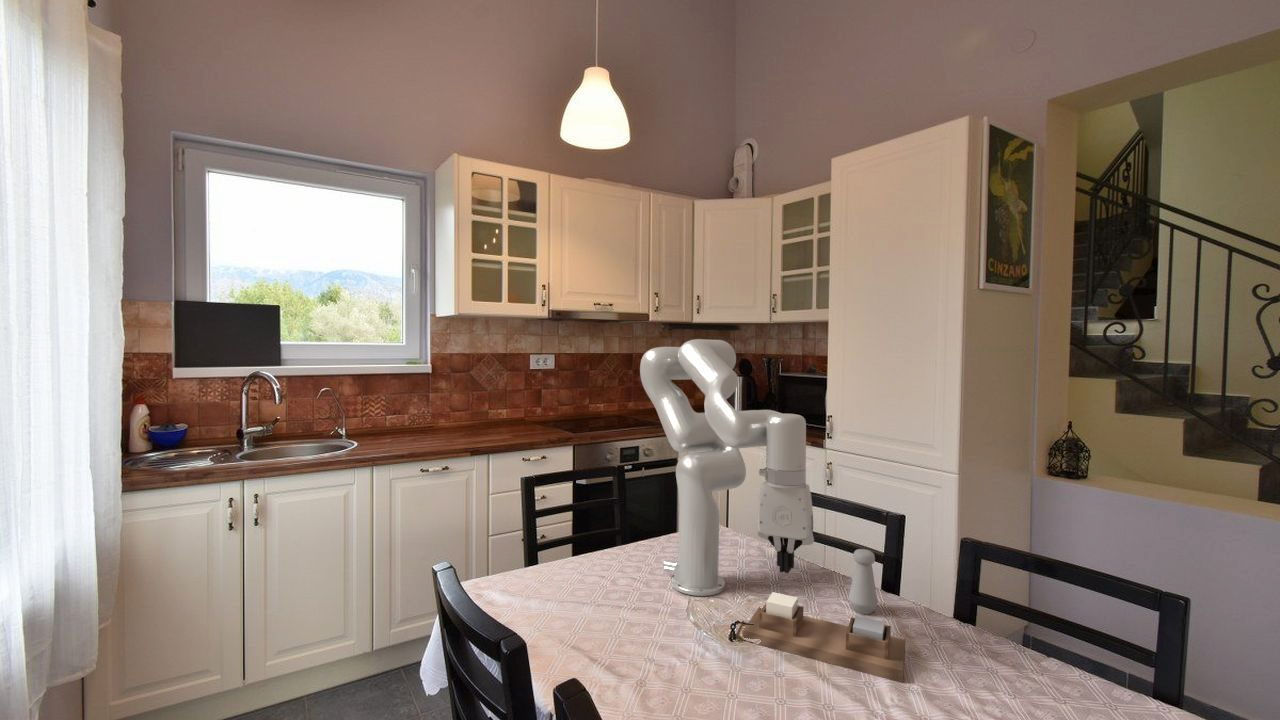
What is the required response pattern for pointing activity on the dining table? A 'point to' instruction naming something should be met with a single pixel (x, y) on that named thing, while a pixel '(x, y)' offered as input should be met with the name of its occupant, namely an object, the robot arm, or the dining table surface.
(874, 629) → the grey key
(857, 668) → the key panel
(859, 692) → the dining table surface
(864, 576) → the salt shaker
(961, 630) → the dining table surface
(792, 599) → the cream key
